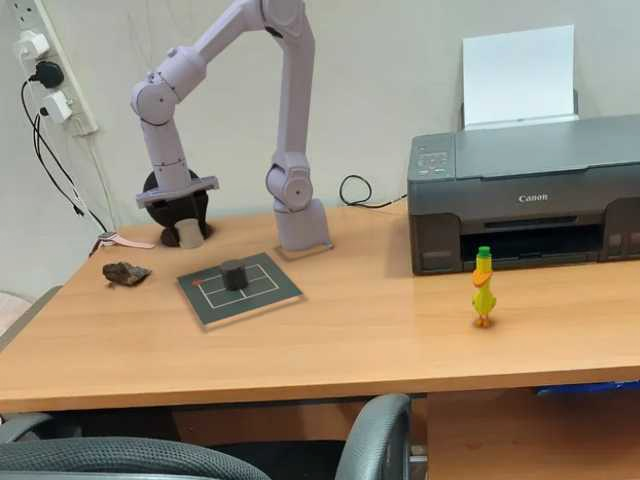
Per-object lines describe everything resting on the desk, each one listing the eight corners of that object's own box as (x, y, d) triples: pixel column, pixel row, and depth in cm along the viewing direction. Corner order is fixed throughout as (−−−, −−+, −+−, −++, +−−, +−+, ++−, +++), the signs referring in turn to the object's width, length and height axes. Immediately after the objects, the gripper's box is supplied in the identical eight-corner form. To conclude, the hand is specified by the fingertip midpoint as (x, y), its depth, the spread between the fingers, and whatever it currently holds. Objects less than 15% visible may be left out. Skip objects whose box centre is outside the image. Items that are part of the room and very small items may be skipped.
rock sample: (164, 252, 129) (122, 236, 122) (162, 289, 127) (119, 275, 121) (137, 268, 136) (96, 254, 129) (135, 303, 134) (93, 290, 128)
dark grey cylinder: (244, 277, 122) (239, 256, 120) (251, 286, 119) (246, 265, 116) (221, 284, 121) (216, 263, 119) (228, 293, 118) (222, 272, 115)
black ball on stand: (192, 250, 138) (171, 177, 129) (144, 246, 143) (120, 175, 134) (227, 225, 147) (210, 155, 138) (181, 222, 152) (161, 154, 143)
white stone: (201, 237, 124) (195, 216, 122) (206, 245, 121) (201, 223, 119) (178, 243, 123) (172, 222, 121) (183, 251, 120) (177, 230, 117)
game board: (266, 257, 131) (264, 251, 130) (305, 300, 115) (303, 293, 114) (177, 283, 127) (175, 277, 126) (205, 331, 110) (203, 325, 110)
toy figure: (488, 336, 99) (489, 261, 91) (465, 334, 100) (463, 260, 92) (499, 314, 103) (500, 241, 96) (476, 312, 105) (476, 239, 97)
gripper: (204, 145, 117) (223, 220, 126) (122, 165, 114) (147, 240, 122) (213, 154, 112) (232, 231, 121) (128, 175, 109) (154, 253, 117)
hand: (190, 237), depth 121 cm, fingers closed on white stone, 4 cm apart
